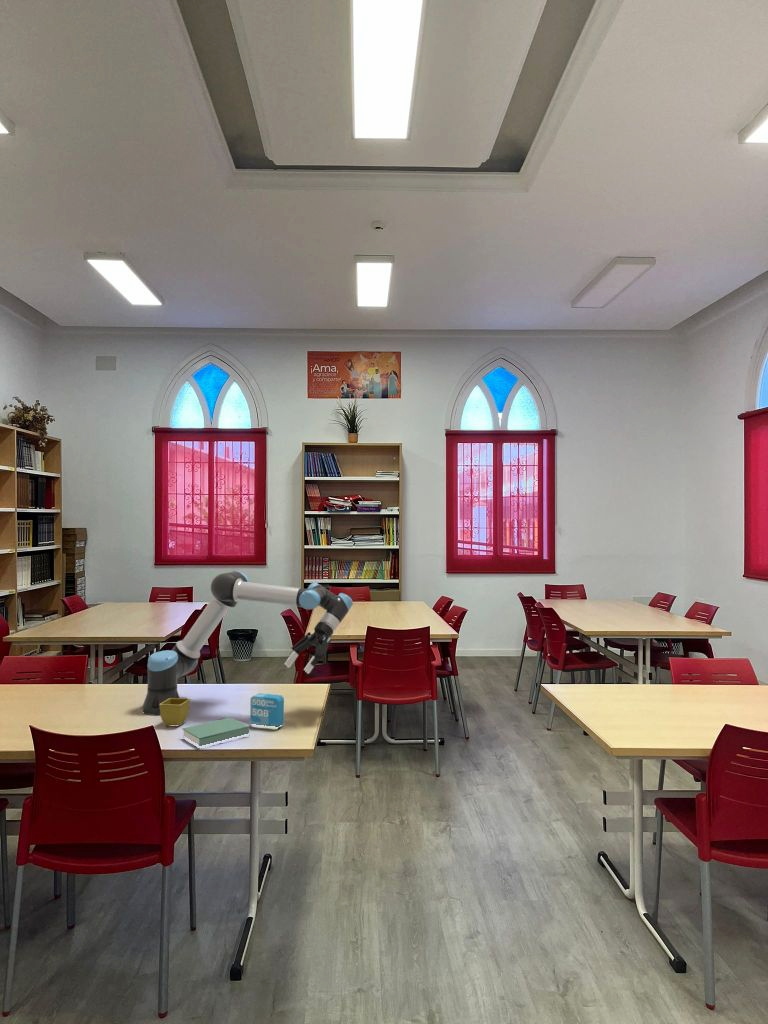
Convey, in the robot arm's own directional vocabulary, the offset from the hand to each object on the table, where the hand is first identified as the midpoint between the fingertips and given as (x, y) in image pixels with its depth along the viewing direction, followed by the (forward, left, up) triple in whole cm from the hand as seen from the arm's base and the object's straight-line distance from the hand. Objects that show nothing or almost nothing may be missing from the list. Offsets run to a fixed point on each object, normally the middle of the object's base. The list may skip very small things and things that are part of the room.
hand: (296, 668), depth 239 cm
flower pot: (-26, -38, -20) cm, 50 cm away
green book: (-2, -33, -20) cm, 39 cm away
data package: (0, -13, -20) cm, 24 cm away
